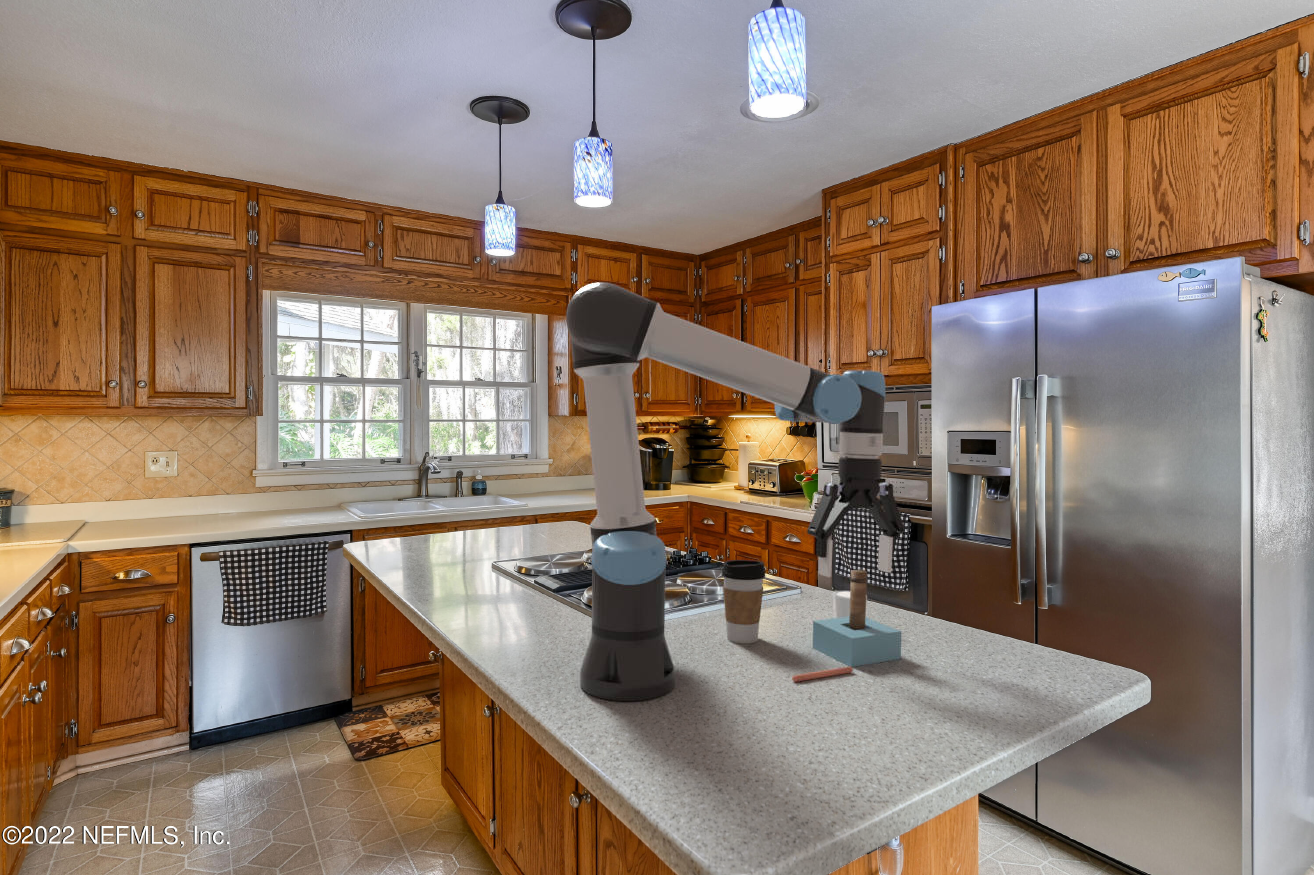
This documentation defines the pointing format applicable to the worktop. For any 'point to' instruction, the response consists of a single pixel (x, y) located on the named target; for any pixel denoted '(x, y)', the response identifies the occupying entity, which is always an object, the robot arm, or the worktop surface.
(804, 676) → the salmon red rod
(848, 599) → the white cylinder
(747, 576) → the coffee cup
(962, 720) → the worktop surface
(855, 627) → the round wooden peg
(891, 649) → the blue square hole block
